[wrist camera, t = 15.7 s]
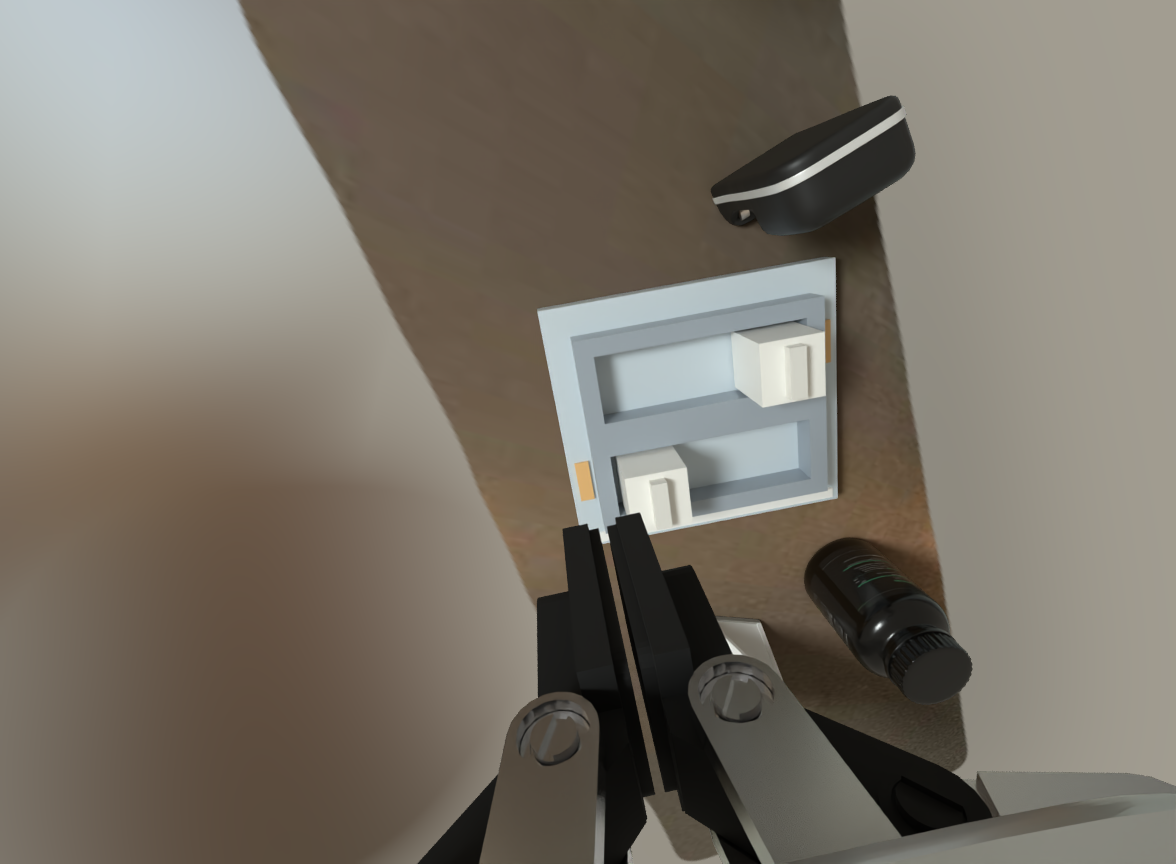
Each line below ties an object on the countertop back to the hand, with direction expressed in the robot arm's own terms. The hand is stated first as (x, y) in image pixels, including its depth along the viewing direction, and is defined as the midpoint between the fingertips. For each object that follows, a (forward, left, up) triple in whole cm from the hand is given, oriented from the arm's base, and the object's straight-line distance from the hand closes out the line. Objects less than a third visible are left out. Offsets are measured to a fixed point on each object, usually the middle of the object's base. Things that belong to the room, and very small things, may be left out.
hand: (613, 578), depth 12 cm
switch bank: (+6, +9, -28) cm, 30 cm away
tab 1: (+10, +4, -27) cm, 29 cm away
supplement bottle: (+23, +20, -28) cm, 42 cm away
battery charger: (-8, +15, -28) cm, 33 cm away
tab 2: (+3, +13, -27) cm, 30 cm away
